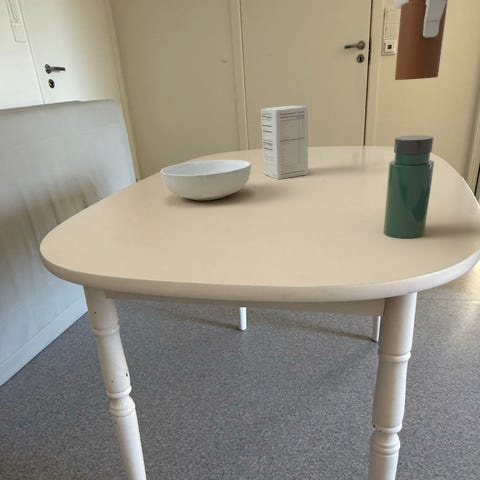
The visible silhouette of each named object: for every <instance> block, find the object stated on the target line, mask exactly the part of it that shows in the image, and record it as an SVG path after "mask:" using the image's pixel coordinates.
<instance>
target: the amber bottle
mask: <svg viewBox="0 0 480 480" xmlns="http://www.w3.org/2000/svg"><path fill="white" fill-rule="evenodd" d="M448 2H449V0H446V4H445V7H444V10H443V13H442V16H441V19H440V23H439V31H438V35H437V36H435V37H431V38H422V37H421V31H422V23H423V22H424V19H425V13H426V7H427V5H426V0H409V3H405V4H403V5H402V6H401V9H400V16H399V25H398V26H399V29H398V40H397V48H396V49H397V50H396V51H397V52H396V61H395V62H396V63H395V74H394V75H395V76H394V80H395V81H408V80H421V79H422V80H423V79H433V78H438V77H439V71H440V63H441V55H442V49H443V48H442V47H443V39H444V32H445V24H446V15H447V10H448Z"/></svg>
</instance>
